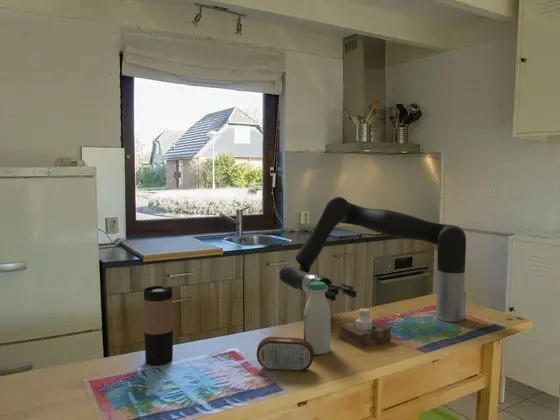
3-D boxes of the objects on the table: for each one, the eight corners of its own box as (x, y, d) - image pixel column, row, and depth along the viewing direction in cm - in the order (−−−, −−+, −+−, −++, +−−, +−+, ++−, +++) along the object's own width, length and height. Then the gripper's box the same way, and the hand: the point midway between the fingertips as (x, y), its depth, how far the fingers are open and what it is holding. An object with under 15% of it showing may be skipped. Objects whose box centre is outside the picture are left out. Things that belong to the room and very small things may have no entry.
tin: (313, 368, 124) (314, 337, 123) (313, 373, 121) (313, 341, 120) (257, 366, 125) (257, 335, 125) (255, 371, 122) (255, 339, 121)
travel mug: (148, 368, 123) (146, 293, 122) (142, 358, 130) (140, 287, 128) (176, 363, 127) (175, 290, 125) (169, 353, 133) (168, 284, 132)
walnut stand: (368, 332, 153) (369, 319, 152) (390, 341, 144) (390, 328, 144) (339, 338, 147) (339, 325, 146) (360, 348, 138) (360, 335, 138)
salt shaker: (354, 339, 145) (355, 309, 145) (362, 336, 148) (362, 307, 148) (365, 343, 143) (365, 312, 142) (372, 339, 145) (373, 309, 145)
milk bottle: (335, 350, 137) (336, 282, 135) (319, 357, 131) (319, 287, 130) (314, 343, 142) (315, 278, 140) (298, 350, 136) (298, 282, 135)
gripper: (300, 277, 163) (327, 287, 149) (333, 273, 170) (362, 282, 156) (300, 298, 164) (327, 310, 150) (332, 293, 171) (362, 304, 157)
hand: (345, 296), depth 153 cm, fingers open, 8 cm apart
